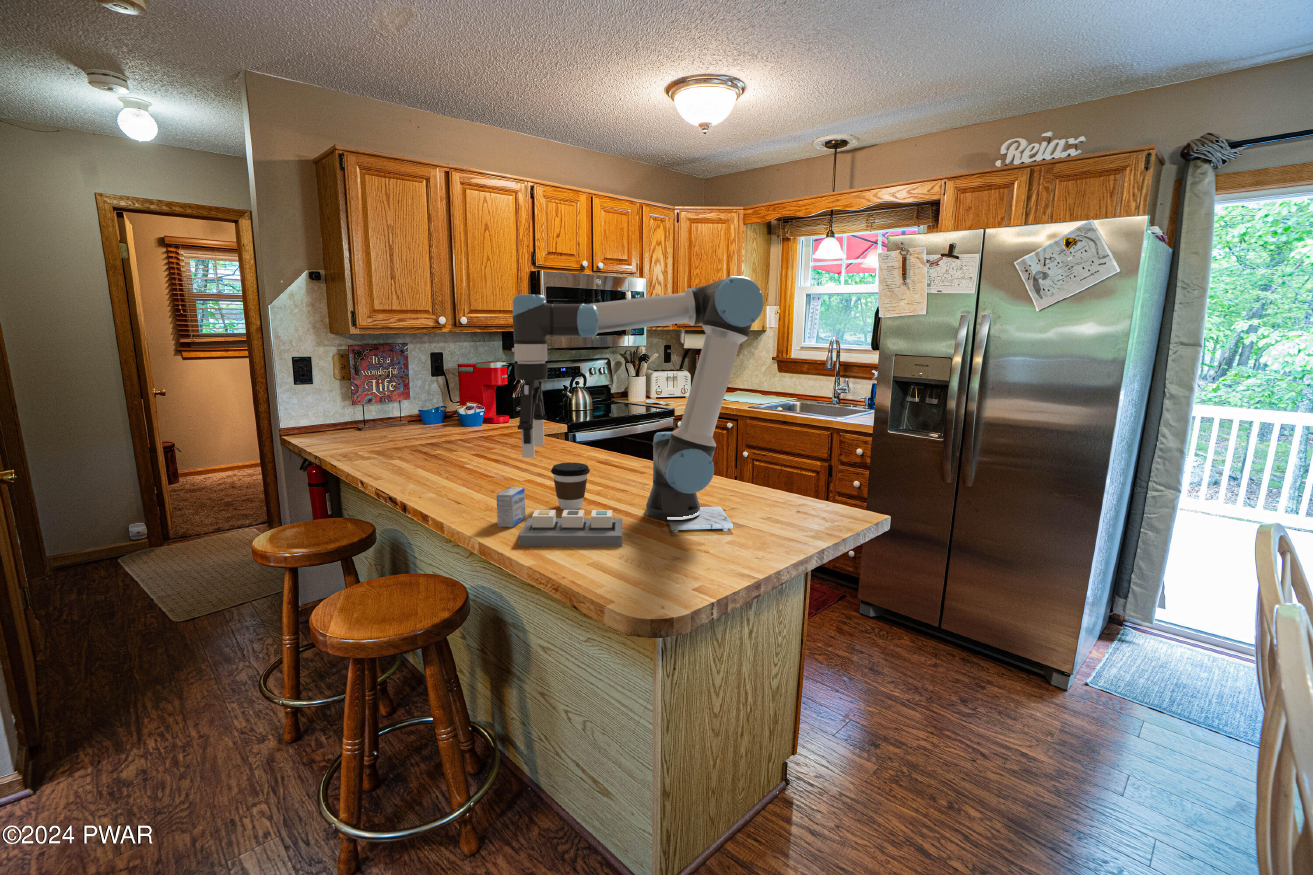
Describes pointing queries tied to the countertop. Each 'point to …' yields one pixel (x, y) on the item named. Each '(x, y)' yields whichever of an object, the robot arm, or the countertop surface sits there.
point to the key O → (601, 519)
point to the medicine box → (511, 507)
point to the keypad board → (571, 534)
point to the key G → (544, 518)
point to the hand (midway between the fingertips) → (533, 451)
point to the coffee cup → (570, 484)
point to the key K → (573, 518)
